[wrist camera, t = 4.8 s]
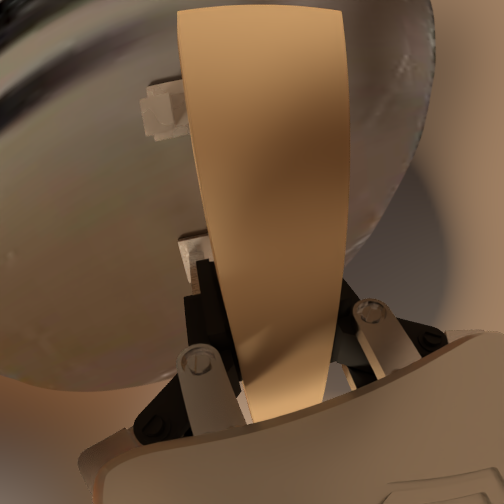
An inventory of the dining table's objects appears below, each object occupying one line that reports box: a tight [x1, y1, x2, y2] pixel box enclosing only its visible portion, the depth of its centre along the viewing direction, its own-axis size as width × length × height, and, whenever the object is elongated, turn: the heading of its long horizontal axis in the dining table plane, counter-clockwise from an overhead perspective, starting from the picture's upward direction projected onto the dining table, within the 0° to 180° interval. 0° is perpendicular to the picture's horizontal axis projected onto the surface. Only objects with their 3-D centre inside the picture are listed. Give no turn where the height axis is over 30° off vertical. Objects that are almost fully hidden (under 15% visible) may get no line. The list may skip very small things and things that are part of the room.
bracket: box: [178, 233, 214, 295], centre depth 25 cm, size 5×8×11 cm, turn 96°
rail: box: [177, 5, 350, 423], centre depth 10 cm, size 18×3×3 cm, turn 6°
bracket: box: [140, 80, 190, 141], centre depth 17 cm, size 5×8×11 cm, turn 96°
